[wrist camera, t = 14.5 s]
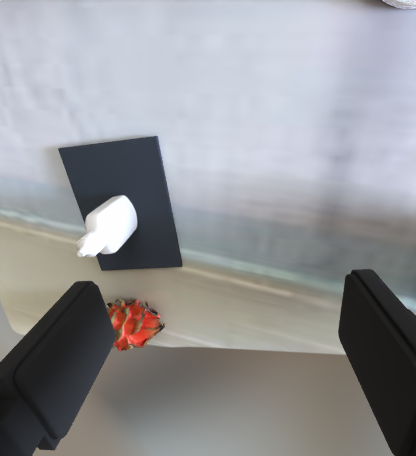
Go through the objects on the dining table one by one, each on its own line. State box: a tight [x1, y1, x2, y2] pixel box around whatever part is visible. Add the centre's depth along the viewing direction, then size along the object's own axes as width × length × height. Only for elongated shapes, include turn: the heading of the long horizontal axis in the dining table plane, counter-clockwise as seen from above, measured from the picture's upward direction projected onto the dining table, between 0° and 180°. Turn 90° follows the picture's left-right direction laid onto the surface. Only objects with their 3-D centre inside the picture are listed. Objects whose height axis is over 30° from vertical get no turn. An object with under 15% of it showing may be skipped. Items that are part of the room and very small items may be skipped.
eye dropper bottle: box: [77, 195, 137, 257], centre depth 31 cm, size 4×6×12 cm
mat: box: [58, 136, 182, 271], centre depth 37 cm, size 20×14×1 cm
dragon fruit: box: [107, 299, 165, 351], centre depth 43 cm, size 8×8×12 cm
